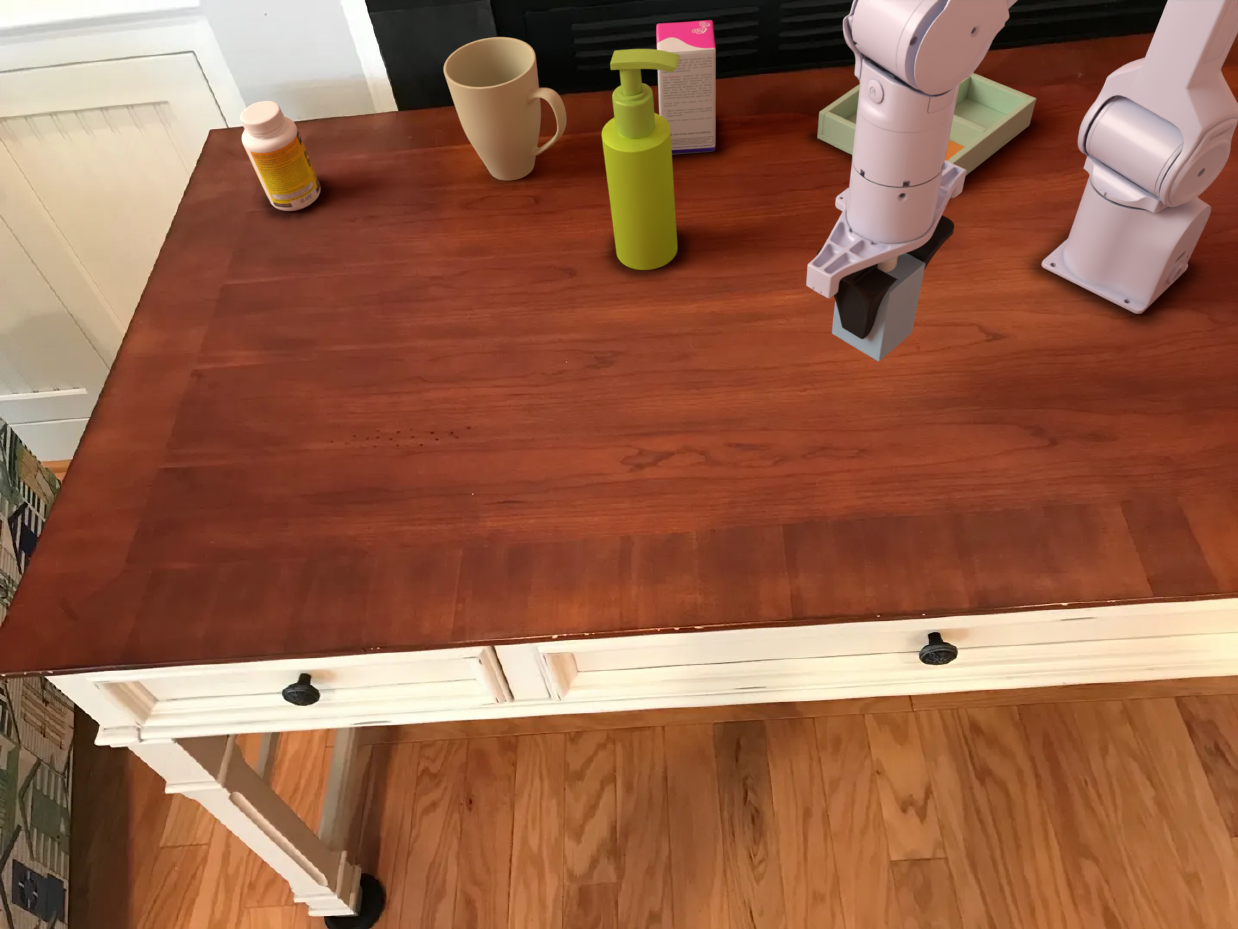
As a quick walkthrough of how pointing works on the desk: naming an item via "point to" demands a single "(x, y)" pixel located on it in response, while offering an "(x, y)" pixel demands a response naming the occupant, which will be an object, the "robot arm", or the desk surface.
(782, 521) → the desk surface
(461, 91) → the mug
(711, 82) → the supplement box
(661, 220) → the soap dispenser
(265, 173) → the supplement bottle
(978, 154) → the tray
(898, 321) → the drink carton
